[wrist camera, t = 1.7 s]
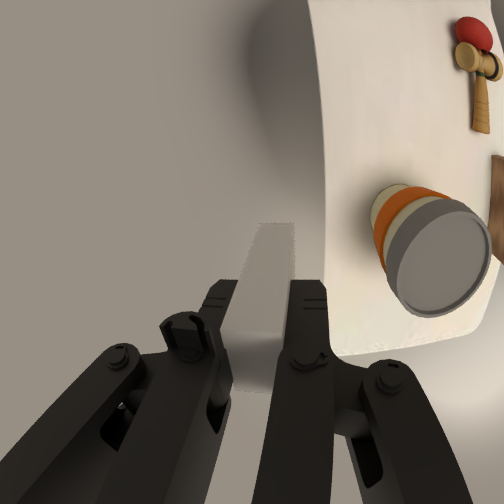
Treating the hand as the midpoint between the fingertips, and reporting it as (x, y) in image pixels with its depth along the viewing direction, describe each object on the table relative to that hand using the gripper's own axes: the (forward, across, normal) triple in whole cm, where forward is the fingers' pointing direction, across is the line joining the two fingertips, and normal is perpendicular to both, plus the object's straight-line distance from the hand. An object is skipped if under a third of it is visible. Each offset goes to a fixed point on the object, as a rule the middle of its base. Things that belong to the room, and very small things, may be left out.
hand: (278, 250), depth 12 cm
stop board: (+26, +34, -5) cm, 43 cm away
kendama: (+26, +28, +15) cm, 41 cm away
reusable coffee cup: (+25, +15, -8) cm, 30 cm away
